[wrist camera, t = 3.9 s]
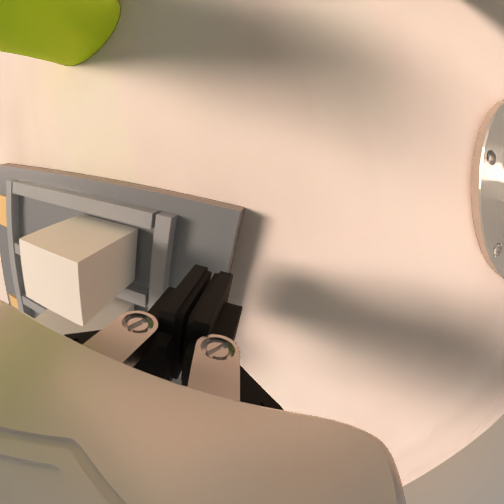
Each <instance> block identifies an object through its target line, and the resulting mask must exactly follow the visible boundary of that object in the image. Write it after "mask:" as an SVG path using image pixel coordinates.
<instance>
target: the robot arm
mask: <svg viewBox="0 0 504 504" xmlns="http://www.w3.org/2000/svg"><path fill="white" fill-rule="evenodd" d="M471 202H472V214H473V221H474V226H475V231H476V236H477V239H478V242H479V245H480V248H481V251H482V253H483V255H484V257H485V259H486V261H487V263H488V264H489V265H490V266H491V267H492V269H493V270H494V271H495V272H497V273H498V274H499V275H501V276H502V277H503V278H504V100H502V101H500V102H498V103H496V104H495V105H494V106H493V107H492V108H491V109H490V110H489V112H488V113H487V115H486V117H485V119H484V120H483V122H482V125H481V127H480V130H479V133H478V136H477V139H476V145H475V149H474V154H473V163H472V173H471ZM211 274H212V272H210V271H208V267H204V266H201V265H197V264H195V265H194V266H193V268H192V269H191V270H190V271H189V272H188V274H187V275H186V276H185V277H184V279H183V280H182V281H181V282H180V284H179V285H178V286H177V287H176V288H173V287H168V288H167V289H166V291H165V292H164V293H163V294H162V295H161V296H160V298H159V299H158V300H157V301H156V302H155V303H154V305H153V306H152V307H151V308H150V309H149V311H148V312H144V311H129V312H126V313H124V314H122V315H120V316H119V317H118V318H116V319H115V320H114V321H112V322H111V323H110V324H108V325H107V326H106V327H105V328H103V329H102V330H95V331H88V332H80V333H72V334H65V335H62V334H60V333H59V332H57V331H55V330H53V329H51V328H49V327H48V326H46V325H44V324H42V323H41V322H39V321H37V320H36V319H34V318H32V317H31V316H29V315H27V314H25V313H24V312H22V311H20V310H19V309H17V308H15V307H14V306H11V305H9V304H7V303H5V302H3V301H1V300H0V504H406V501H405V497H404V492H403V487H402V483H401V479H400V476H399V472H398V469H397V467H396V464H395V461H394V459H393V457H392V455H391V453H390V451H389V450H388V448H387V447H386V446H385V444H384V443H383V442H382V441H380V440H379V439H378V438H377V437H375V436H373V435H372V434H370V433H368V432H366V431H364V430H361V429H359V428H356V427H354V426H351V425H349V424H345V423H341V422H338V421H335V420H331V419H326V418H321V417H317V416H311V415H305V414H300V413H294V412H289V411H284V410H283V409H282V407H281V406H280V405H279V404H278V403H277V402H276V401H275V400H274V399H273V398H272V397H271V396H270V395H269V394H268V393H267V392H266V391H265V390H264V389H263V388H262V387H261V386H260V385H259V384H258V383H257V382H256V381H255V380H254V379H253V378H252V377H251V376H250V375H249V374H248V373H247V372H246V371H245V370H244V369H243V368H242V367H241V366H240V350H239V347H238V345H237V344H236V343H235V342H234V338H235V335H236V331H237V327H238V323H239V319H240V315H241V311H242V306H238V305H234V304H230V303H227V301H228V296H229V292H230V287H231V282H232V278H233V274H231V273H227V272H223V271H220V273H219V274H218V273H214V275H213V277H212V279H211ZM181 371H182V373H181ZM180 373H181V381H182V385H180V384H177V383H174V382H172V379H173V378H174V379H178V378H179V375H180Z"/></svg>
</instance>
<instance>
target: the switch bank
mask: <svg viewBox="0 0 504 504" xmlns="http://www.w3.org/2000/svg"><path fill="white" fill-rule="evenodd" d="M243 210H244V207H241V206H236V205H232V204H228V203H224V202H219V201H215V200H211V199H206V198H202V197H197V196H193V195H188V194H184V193H179V192H174V191H170V190H165V189H160V188H155V187H150V186H145V185H140V184H135V183H130V182H124V181H119V180H114V179H108V178H102V177H97V176H91V175H85V174H79V173H73V172H67V171H60V170H54V169H47V168H40V167H33V166H26V165H18V164H10V163H7V164H1V165H0V254H1V262H2V268H3V275H4V280H5V286H6V291H7V295H8V300H9V304H10V305H11V306H14V307H15V308H17V309H19V310H20V311H22V312H24V313H25V314H27V315H29V316H31V317H32V318H34V319H35V318H36V317H37V316H38V315H40V314H41V313H42V312H44V311H45V310H46V309H47V308H46V307H44V306H42V305H40V304H39V303H37V302H35V301H33V300H32V299H30V298H28V297H27V296H26V291H25V285H24V279H23V272H22V265H21V256H20V245H19V238H22V237H24V236H26V235H29V234H31V233H33V232H36V231H38V230H41V229H43V228H46V227H48V226H51V225H53V224H56V223H58V222H61V221H64V220H66V219H69V218H72V217H74V216H77V215H80V214H85V215H89V216H92V217H96V218H100V219H104V220H108V221H111V222H115V223H119V224H123V225H126V226H130V227H134V228H138V238H137V251H136V267H135V280H134V281H133V282H132V283H131V284H130V285H128V286H127V287H126V288H125V289H124V290H123V291H122V292H121V293H119V294H118V295H117V296H116V297H117V298H120V299H123V300H125V301H128V302H131V303H134V311H144V312H148V311H149V309H150V308H151V307H152V306H153V305H154V303H155V302H156V301H157V300H158V299H159V298H160V296H161V295H162V294H163V293H164V292H165V291H166V289H167V288H168V287H173V288H176V287H177V286H178V285H179V284H180V282H181V281H182V280H183V279H184V277H185V276H186V275H187V274H188V272H189V271H190V270H191V269H192V268H193V266H194V265H195V264H197V265H201V266H204V267H208V271H210V272H212V274H211V279H212V277H213V275H214V273H218V274H219V273H220V271H223V272H227V273H230V269H231V265H232V260H233V256H234V251H235V246H236V242H237V237H238V233H239V228H240V224H241V219H242V215H243ZM181 373H182V371H181ZM181 373H180V375H179V378H178V379H174V378H173V379H172V382H174V383H177V384H180V385H182V381H181Z"/></svg>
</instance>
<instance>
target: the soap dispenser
mask: <svg viewBox="0 0 504 504" xmlns="http://www.w3.org/2000/svg"><path fill="white" fill-rule="evenodd" d="M119 16H120V4H119V1H118V0H0V51H2V52H8V53H14V54H19V55H24V56H29V57H33V58H38V59H42V60H46V61H50V62H54V63H58V64H61V65H65V66H73V65H76V64H79V63H81V62H83V61H85V60H87V59H88V58H89V57H91V56H92V55H93V54H94V53H96V52H97V51H98V50H99V49H100V48H101V47H102V46H103V44H104V43H105V42H106V41H107V39H108V38H109V37H110V35H111V34H112V32H113V30H114V29H115V27H116V24H117V22H118V19H119Z"/></svg>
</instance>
